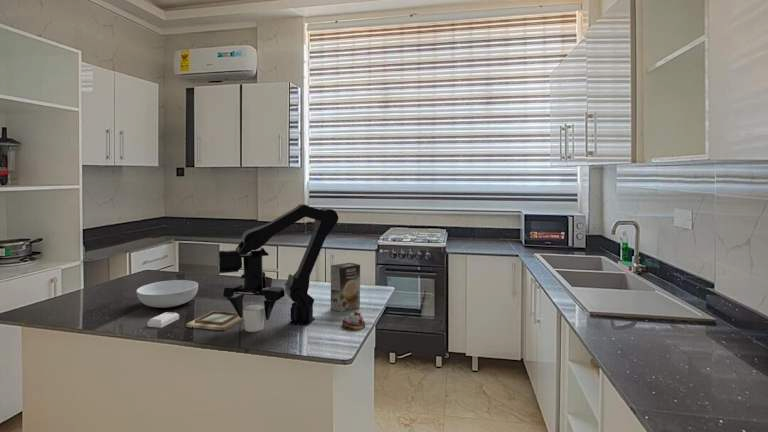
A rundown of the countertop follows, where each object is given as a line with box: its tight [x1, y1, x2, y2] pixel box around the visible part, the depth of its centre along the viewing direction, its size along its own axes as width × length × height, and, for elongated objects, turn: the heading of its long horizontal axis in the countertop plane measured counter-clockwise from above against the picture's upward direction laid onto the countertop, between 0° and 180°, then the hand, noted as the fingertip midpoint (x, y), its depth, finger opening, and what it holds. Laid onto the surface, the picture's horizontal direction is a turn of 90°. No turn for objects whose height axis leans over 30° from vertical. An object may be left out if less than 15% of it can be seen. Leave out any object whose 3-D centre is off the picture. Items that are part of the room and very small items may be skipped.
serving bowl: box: [135, 279, 199, 309], centre depth 166 cm, size 21×21×7 cm
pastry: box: [341, 311, 366, 331], centre depth 143 cm, size 8×8×5 cm
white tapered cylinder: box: [243, 303, 265, 333], centre depth 140 cm, size 7×7×7 cm
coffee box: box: [330, 262, 361, 313], centre depth 162 cm, size 9×6×16 cm
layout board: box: [185, 310, 244, 331], centre depth 147 cm, size 14×14×2 cm
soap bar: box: [146, 311, 180, 329], centre depth 146 cm, size 5×9×3 cm, turn 169°
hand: (254, 318), depth 140 cm, fingers open, 9 cm apart
